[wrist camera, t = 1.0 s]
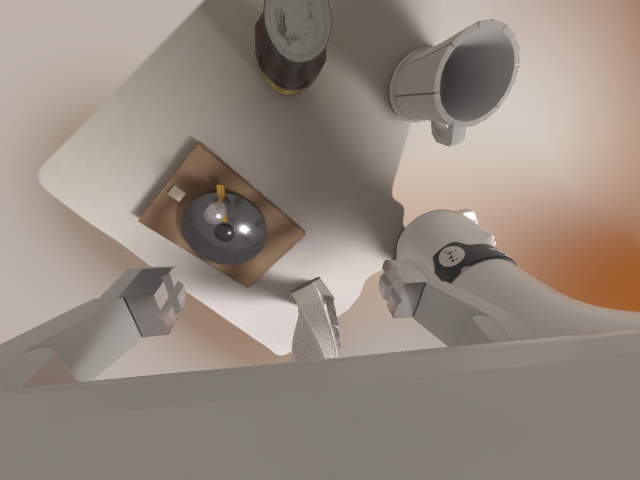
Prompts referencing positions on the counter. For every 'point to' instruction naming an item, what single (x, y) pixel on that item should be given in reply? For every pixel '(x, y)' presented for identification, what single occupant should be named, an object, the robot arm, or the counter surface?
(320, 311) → the skyscraper
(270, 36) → the sauce bottle
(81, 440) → the robot arm
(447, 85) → the cup
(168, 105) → the counter surface
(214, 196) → the dial
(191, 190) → the stand
